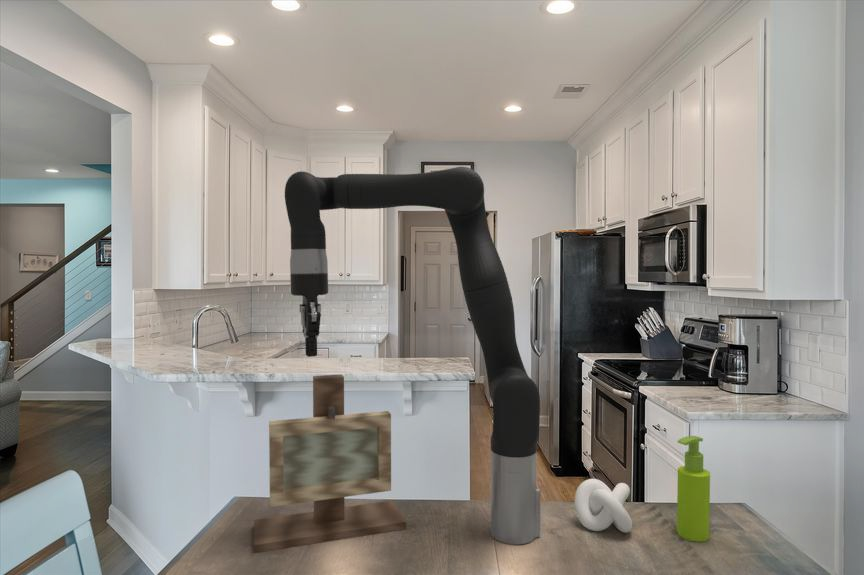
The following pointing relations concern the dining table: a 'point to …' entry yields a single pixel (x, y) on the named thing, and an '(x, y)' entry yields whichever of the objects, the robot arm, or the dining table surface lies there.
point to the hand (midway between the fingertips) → (311, 355)
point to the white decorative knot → (602, 506)
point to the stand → (330, 513)
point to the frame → (329, 457)
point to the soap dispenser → (693, 494)
